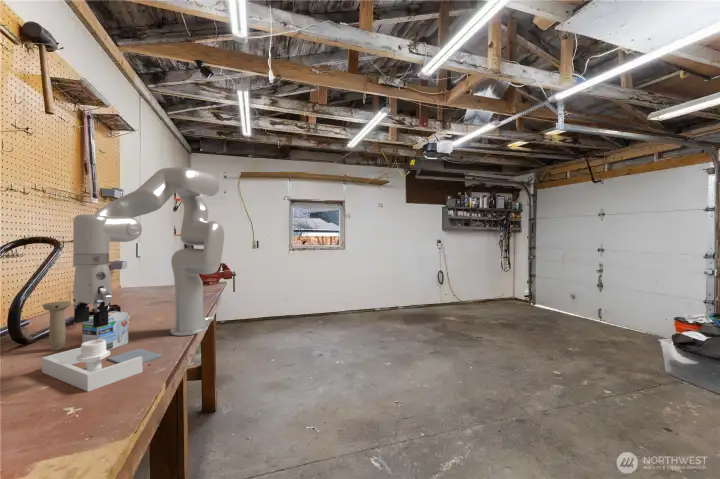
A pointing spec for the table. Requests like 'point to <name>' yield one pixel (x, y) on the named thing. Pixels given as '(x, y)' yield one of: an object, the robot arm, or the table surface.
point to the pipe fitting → (93, 354)
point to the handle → (57, 324)
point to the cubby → (83, 379)
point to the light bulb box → (108, 330)
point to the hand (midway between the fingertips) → (91, 324)
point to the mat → (133, 354)
